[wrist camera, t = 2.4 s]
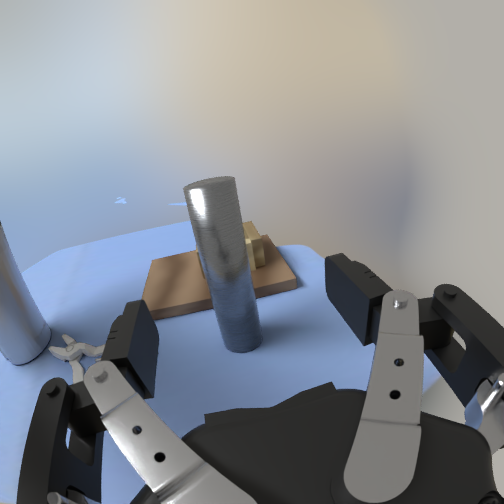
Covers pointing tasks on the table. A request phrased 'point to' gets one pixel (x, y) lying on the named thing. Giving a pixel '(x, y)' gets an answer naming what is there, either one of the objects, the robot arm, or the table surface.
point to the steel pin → (225, 260)
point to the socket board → (194, 283)
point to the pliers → (76, 355)
